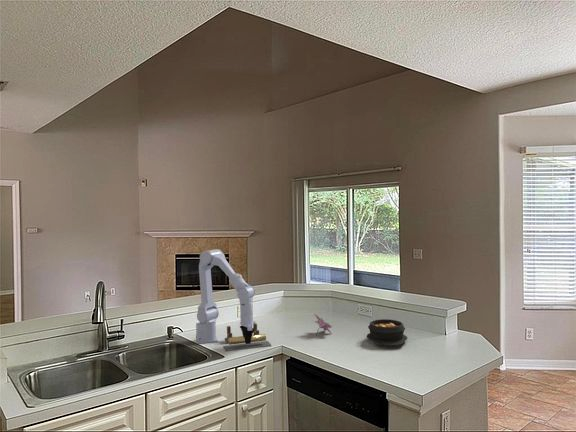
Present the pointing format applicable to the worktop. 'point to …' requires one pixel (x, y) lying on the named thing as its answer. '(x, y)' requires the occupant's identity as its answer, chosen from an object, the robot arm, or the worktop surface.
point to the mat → (247, 346)
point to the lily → (322, 324)
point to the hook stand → (229, 335)
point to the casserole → (386, 332)
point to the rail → (242, 340)
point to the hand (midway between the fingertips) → (247, 342)
